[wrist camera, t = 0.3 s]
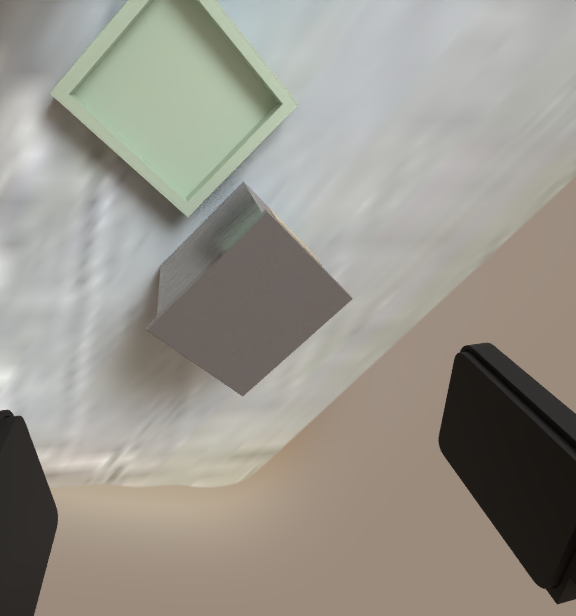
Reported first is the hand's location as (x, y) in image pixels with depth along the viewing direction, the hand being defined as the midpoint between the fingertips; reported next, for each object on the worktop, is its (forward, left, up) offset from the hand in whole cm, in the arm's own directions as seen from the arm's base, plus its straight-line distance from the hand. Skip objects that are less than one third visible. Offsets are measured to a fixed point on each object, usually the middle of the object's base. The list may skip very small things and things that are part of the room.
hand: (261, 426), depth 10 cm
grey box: (+3, +7, -29) cm, 30 cm away
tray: (-3, -4, -29) cm, 29 cm away
